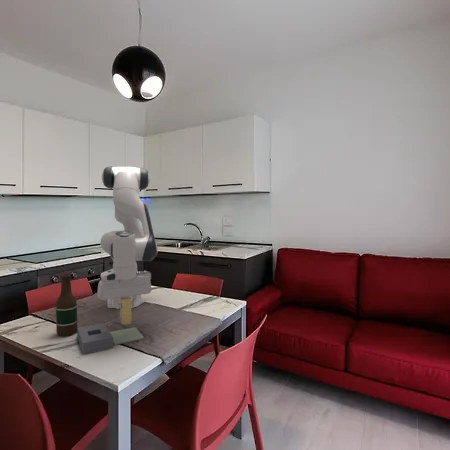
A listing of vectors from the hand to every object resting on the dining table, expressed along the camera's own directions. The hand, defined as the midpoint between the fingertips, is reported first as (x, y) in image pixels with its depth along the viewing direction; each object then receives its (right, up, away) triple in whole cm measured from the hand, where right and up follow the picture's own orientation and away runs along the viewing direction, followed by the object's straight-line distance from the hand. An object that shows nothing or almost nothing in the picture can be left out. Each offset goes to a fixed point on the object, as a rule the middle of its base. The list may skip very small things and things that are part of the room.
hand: (125, 307), depth 123 cm
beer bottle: (-25, -11, +3) cm, 27 cm away
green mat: (0, -12, +1) cm, 12 cm away
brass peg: (0, -6, 0) cm, 6 cm away
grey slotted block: (-10, -12, -5) cm, 16 cm away
